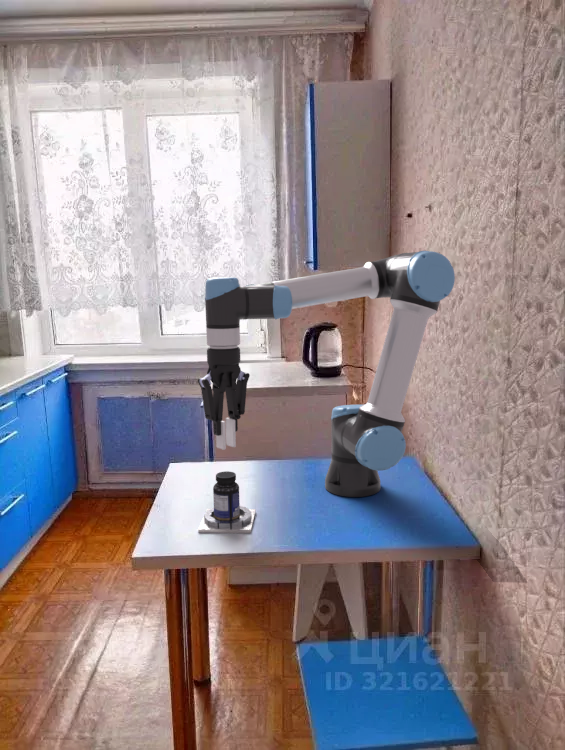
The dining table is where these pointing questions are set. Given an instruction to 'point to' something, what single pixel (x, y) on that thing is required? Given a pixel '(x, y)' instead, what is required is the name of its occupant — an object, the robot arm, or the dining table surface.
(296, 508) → the dining table surface
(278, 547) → the dining table surface
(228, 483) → the pill bottle
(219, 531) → the hub plate
